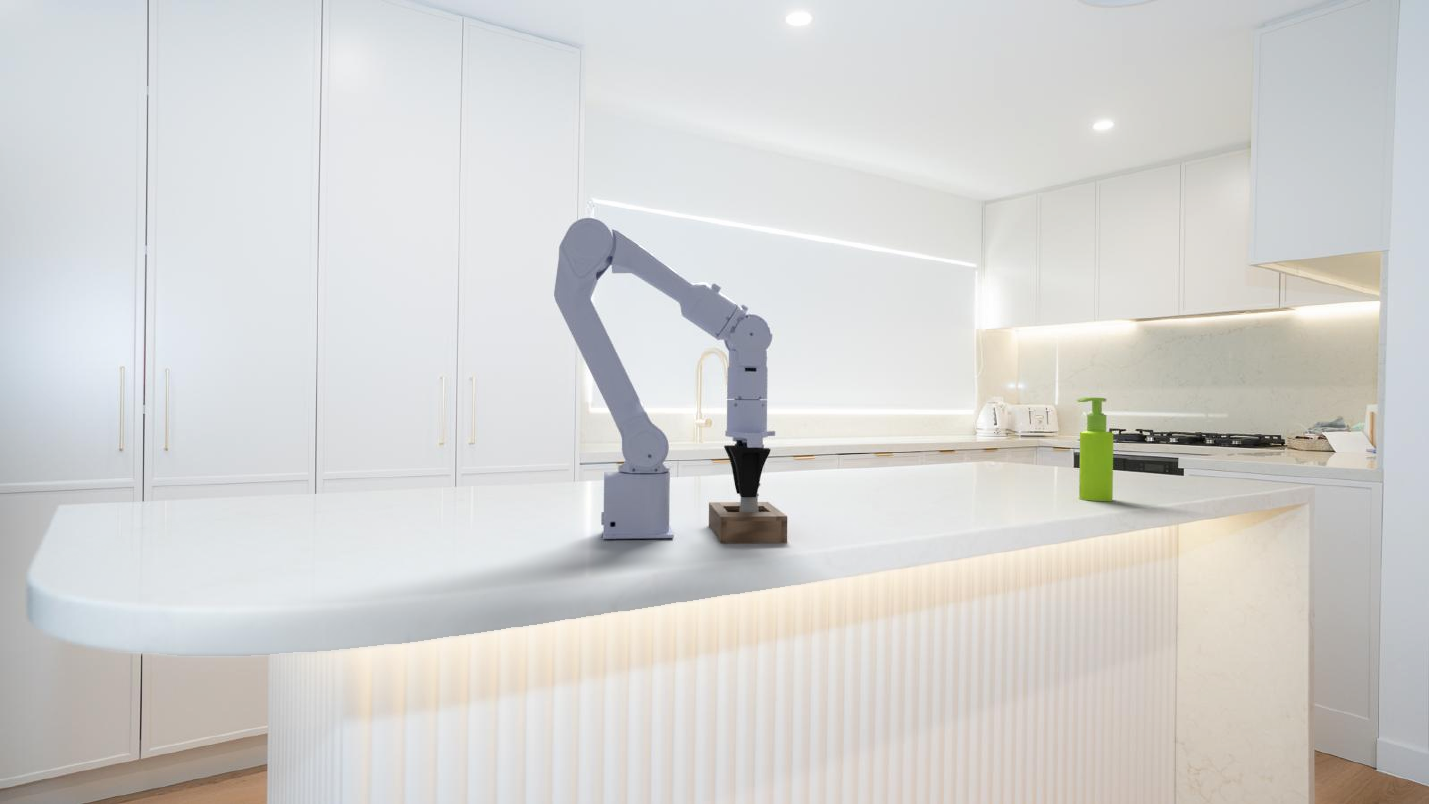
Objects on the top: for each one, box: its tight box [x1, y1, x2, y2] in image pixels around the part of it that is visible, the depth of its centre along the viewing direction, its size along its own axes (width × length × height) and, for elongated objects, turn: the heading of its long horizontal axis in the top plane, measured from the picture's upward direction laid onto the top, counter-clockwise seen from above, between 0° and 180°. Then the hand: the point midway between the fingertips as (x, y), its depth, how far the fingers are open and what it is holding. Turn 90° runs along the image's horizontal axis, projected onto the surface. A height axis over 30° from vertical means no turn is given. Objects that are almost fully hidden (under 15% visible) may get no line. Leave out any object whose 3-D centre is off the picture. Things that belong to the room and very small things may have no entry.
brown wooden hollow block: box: [708, 501, 788, 544], centre depth 110 cm, size 9×14×4 cm, turn 7°
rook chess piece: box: [738, 482, 761, 512], centre depth 110 cm, size 4×4×8 cm
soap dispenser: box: [1076, 397, 1114, 502], centre depth 152 cm, size 6×7×20 cm
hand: (746, 495), depth 110 cm, fingers closed on rook chess piece, 3 cm apart
